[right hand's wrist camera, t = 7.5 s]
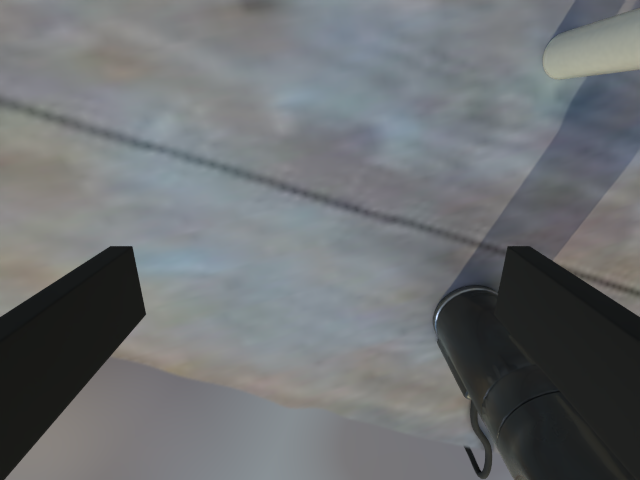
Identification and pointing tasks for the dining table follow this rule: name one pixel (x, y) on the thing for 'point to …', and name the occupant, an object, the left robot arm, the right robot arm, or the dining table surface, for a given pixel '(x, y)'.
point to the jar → (596, 48)
